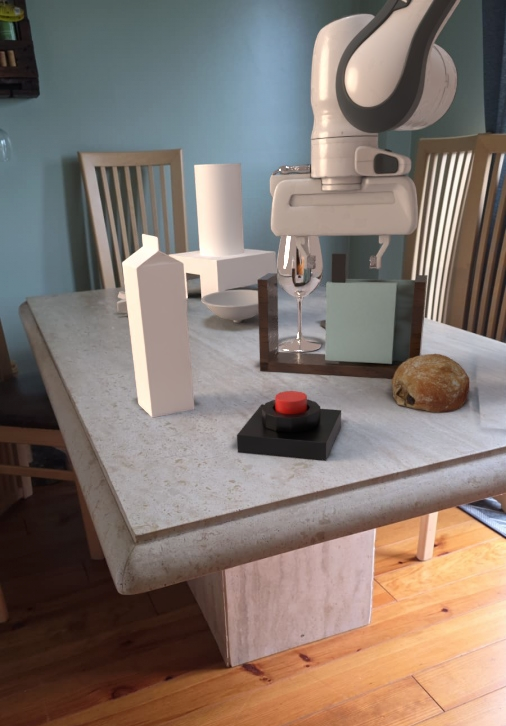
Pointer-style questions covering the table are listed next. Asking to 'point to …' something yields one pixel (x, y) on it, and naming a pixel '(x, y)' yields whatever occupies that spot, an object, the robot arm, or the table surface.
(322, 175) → the robot arm
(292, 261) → the wineglass
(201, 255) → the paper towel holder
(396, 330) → the window frame
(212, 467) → the table surface
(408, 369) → the bread roll
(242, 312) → the dish
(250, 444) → the button box
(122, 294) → the bunny figurine
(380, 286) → the window
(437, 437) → the table surface
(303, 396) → the button
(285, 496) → the table surface
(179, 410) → the milk
